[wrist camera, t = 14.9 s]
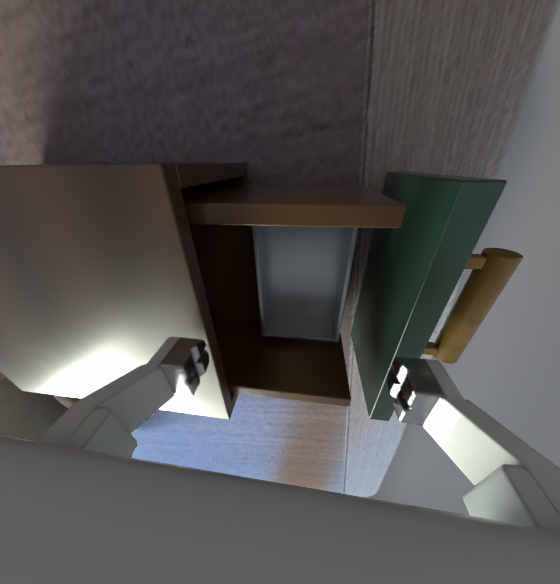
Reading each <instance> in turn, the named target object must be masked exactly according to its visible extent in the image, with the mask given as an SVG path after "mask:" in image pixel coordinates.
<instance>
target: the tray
mask: <svg viewBox="0 0 560 584" xmlns="http://www.w3.org/2000/svg"><path fill="white" fill-rule="evenodd" d="M358 229H359V228H356V227H304V226H252V231H253V243H254V254H255V266H256V277H257V288H258V300H259V311H260V323H261V334H262V336H266V337H278V338H290V339H302V340H314V341H326V342H338V341H339V335H340V330H341V324H342V319H343V313H344V307H345V302H346V296H347V291H348V285H349V279H350V274H351V268H352V263H353V257H354V251H355V246H356V240H357V235H358Z"/></svg>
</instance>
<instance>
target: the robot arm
mask: <svg viewBox="0 0 560 584" xmlns="http://www.w3.org/2000/svg"><path fill="white" fill-rule="evenodd" d="M205 347H206V343H205V340H202V339H193V338H185V337H175V336H171V337H169V338H168V339H167V340H166V341H165V342H164V344H163V345H162V346H161V347H160V348H159V350H158V351H157V352H156V353H155V354H154V356H153V357H152V358H151V359H150V360H149V362H148V363H147V364H146V365H141V366H139V367H137V368H135V369H134V370H132V371H130V372H128V373H126V374H125V375H123V376H121V377H119V378H117V379H116V380H114V381H112V382H110V383H109V384H107V385H105V386H103V387H101V388H100V389H98V390H96V391H94V392H92V393H91V394H89V395H87V396H85V397H84V398H82V399H80V400H78V401H76V402H75V403H74V404H73V405H72V406H71V407H70V408H69V409H68V410H67V411H66V412H65V413H64V414H63V415H62V416H61V417H60V418H59V419H58V420H57V421H56V422H55V423H54V424H53V425H52V426H51V427H50V428H49V429H48V430H47V431H46V432H45V433H44V434H43V435H42V436H41V437H40V438H39V439H38V440H37V441H30V440H25V439H19V438H13V437H7V436H1V435H0V584H560V468H559V467H558V466H556V465H555V464H553V463H552V462H551V461H549V460H548V459H547V458H545V457H544V456H543V455H541V454H540V453H539V452H537V451H536V450H535V449H533V448H532V447H531V446H529V445H528V444H527V443H525V442H524V441H523V440H521V439H520V438H519V437H517V436H516V435H515V434H513V433H512V432H511V431H509V430H508V429H507V428H505V427H504V426H503V425H501V424H500V423H499V422H497V421H496V420H495V419H493V418H492V417H491V416H489V415H488V414H487V413H485V412H484V411H483V410H481V409H480V408H479V407H477V406H476V405H475V404H473V403H472V402H471V401H469V400H464V398H463V397H462V395H461V394H460V392H459V391H458V389H457V387H456V386H455V385H454V383H453V381H452V380H451V378H450V377H449V375H448V374H447V372H446V371H445V369H444V367H443V366H442V364H441V363H440V362H439V361H437V360H430V359H419V358H406V357H395V358H394V359H393V361H392V365H393V368H392V369H390V370H389V371H388V374H387V387H388V390H389V393H390V395H391V396H392V397H393V398H394V399H395V402H394V404H393V406H394V408H395V411H396V414H397V417H398V420H399V422H403V423H410V424H416V425H423V427H424V428H425V430H426V431H427V432H428V433H429V434H430V435H431V436H432V437H433V439H434V440H435V441H436V442H437V443H438V444H439V446H441V448H442V449H443V450H444V451H445V453H446V454H447V455H448V456H449V457H450V458H451V459H452V461H453V462H454V463H455V464H456V465H457V466H458V467H459V469H460V470H461V471H462V472H463V473H464V474H465V475H466V477H467V478H468V479H469V480H470V481H471V482H472V483H473V485H474V487H472V488H471V489H470V490H469V491H467V492H466V493H465V494H464V496H463V500H464V502H465V505H466V507H467V509H468V511H469V514H470V516H469V515H464V514H458V513H452V512H445V511H440V510H434V509H428V508H423V507H417V506H411V505H405V504H399V503H393V502H387V501H382V500H376V499H370V498H364V497H358V496H352V495H347V494H341V493H335V492H329V491H323V490H317V489H312V488H306V487H300V486H294V485H288V484H282V483H276V482H271V481H265V480H259V479H253V478H247V477H241V476H235V475H230V474H224V473H218V472H212V471H206V470H200V469H194V468H189V467H183V466H177V465H171V464H165V463H159V462H153V461H148V460H142V459H136V458H130V456H131V454H132V453H133V451H134V449H135V448H136V446H137V441H136V440H135V438H134V437H133V436H132V435H131V432H132V431H134V430H135V429H136V428H137V427H138V426H139V425H141V424H142V423H143V422H144V421H145V420H146V419H148V418H149V417H150V416H151V415H152V414H153V413H155V412H156V411H157V410H158V409H159V408H160V407H162V406H163V405H164V404H165V403H166V402H167V401H169V400H170V399H171V398H172V397H173V396H174V394H178V395H188V396H193V395H194V394H195V392H196V390H197V388H198V386H199V384H200V378H199V377H201V376H202V375H203V374H205V372H206V370H207V368H208V364H209V354H208V352H207V351H206V350H205Z"/></svg>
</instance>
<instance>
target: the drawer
mask: <svg viewBox="0 0 560 584" xmlns="http://www.w3.org/2000/svg"><path fill="white" fill-rule="evenodd" d="M506 183H507V181H505V180H498V179H487V178H476V177H464V176H453V175H442V174H431V173H420V172H408V171H393V172H387V173H386V177H385V181H384V186H383V190H382V194H381V193H379V192H377V191H374V190H372V189H370V188H368V187H366V186H363V185H257V186H193V187H188V188H183V189H181V193H182V197H183V201H184V205H185V209H186V214H187V218H188V222H189V226H190V230H191V234H192V239H193V243H194V247H195V251H196V255H197V259H198V264H199V268H200V272H201V276H202V280H203V284H204V289H205V293H206V297H207V301H208V305H209V309H210V314H211V318H212V322H213V326H214V330H215V334H216V339H217V343H218V347H219V351H220V355H221V359H222V364H223V368H224V372H225V376H226V380H227V384H228V389H229V392H234V393H242V394H250V395H258V396H267V397H275V398H283V399H291V400H300V401H308V402H316V403H324V404H332V405H341V406H349V405H350V401H351V396H350V390H349V384H348V377H347V371H346V365H345V359H344V352H343V346H342V340H341V334H340V335H339V341H338V342H326V341H314V340H302V339H290V338H278V337H266V336H262V334H261V323H260V311H259V300H258V288H257V277H256V266H255V254H254V243H253V231H252V226H304V227H356V228H374V231H373V236H372V240H371V245H370V249H369V254H368V259H367V263H366V268H365V272H364V277H363V281H362V286H361V290H360V295H359V299H358V304H357V309H356V313H355V318H354V322H353V327H352V331H351V337H352V341H353V346H354V351H355V355H356V360H357V364H358V369H359V373H360V378H361V382H362V387H363V392H364V396H365V401H366V405H367V410H368V414H369V418H370V419H376V420H384V421H389V420H390V418H391V416H392V414H393V411H394V409H395V408H394V406H393V404H394V402H395V399H394V398H393V397H392V396H391V395H390V393H389V390H388V387H387V374H388V371H389V370H390V369H392V368H393V365H392V361H393V359H394V358H395V357H406V358H419V359H420V357H421V355H422V354H427V355H433V356H434V357H435V358H437V359H438V360H440V361H442V362H445V363H450V364H452V363H455V362H457V360H458V359H459V357H460V356H461V354H462V352H463V351H464V349H465V348H466V346H467V345H468V343H469V341H470V340H471V338H472V336H473V335H474V334H475V332H476V330H477V329H478V327H479V326H480V324H481V323H482V321H483V320H484V318H485V316H486V315H487V313H488V312H489V310H490V309H491V307H492V306H493V304H494V302H495V301H496V299H497V298H498V296H499V295H500V293H501V291H502V290H503V288H504V287H505V285H506V283H507V282H508V280H509V279H510V277H511V276H512V274H513V273H514V271H515V270H516V268H517V266H518V265H519V263H520V262H521V260H522V259H523V256H522V255H521V254H519V253H517V252H513V251H510V250H506V249H500V248H486V249H484V250H483V251H482V252H481V254H472V252H473V250H474V248H475V246H476V244H477V242H478V240H479V238H480V236H481V234H482V232H483V230H484V228H485V226H486V224H487V222H488V220H489V217H490V216H491V214H492V211H493V209H494V208H495V206H496V204H497V201H498V200H499V198H500V196H501V193H502V191H503V189H504V187H505V185H506ZM464 269H473V270H472V272H471V274H470V276H469V278H468V279H467V281H466V283H465V285H464V287H463V289H462V291H461V293H460V295H459V297H458V299H457V301H456V302H455V304H454V306H453V308H452V310H451V312H450V314H449V316H448V318H447V320H446V322H445V324H444V326H443V327H442V329H441V331H440V333H439V335H438V337H437V339H436V341H435V343H433V342H428V341H429V339H430V337H431V335H432V333H433V331H434V329H435V327H436V325H437V323H438V321H439V319H440V317H441V315H442V313H443V311H444V309H445V307H446V305H447V302H448V300H449V298H450V296H451V294H452V292H453V290H454V288H455V286H456V284H457V282H458V280H459V278H460V276H461V274H462V272H463V270H464Z"/></svg>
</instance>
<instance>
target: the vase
mask: <svg viewBox="0 0 560 584" xmlns="http://www.w3.org/2000/svg"><path fill="white" fill-rule="evenodd" d="M67 410H68V408H67V407H65V406H64V405H62V404H61V403H60V402H59V401H57V400H56V399H55V398H54V397H53V396H52V395H50V394H43V393H35V392H28V391H22V390H20V389H19V388H18V387H17V386H16V385H15V384H14V383H13V382H12V381H10V380H9V379H8V378H7V377H6V376H5V375H4V374H3V373H2V372H0V435H1V436H7V437H13V438H19V439H25V440H30V441H37V440H38V439H39V438H40V437H41V436H42V435H43V434H44V433H45V432H46V431H47V430H48V429H49V428H50V427H51V426H52V425H53V424H54V423H55V422H56V421H57V420H58V419H59V418H60V417H61V416H62V415H63V414H64V413H65V412H66V411H67ZM131 457H132V454H131V456H130V458H131Z"/></svg>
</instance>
